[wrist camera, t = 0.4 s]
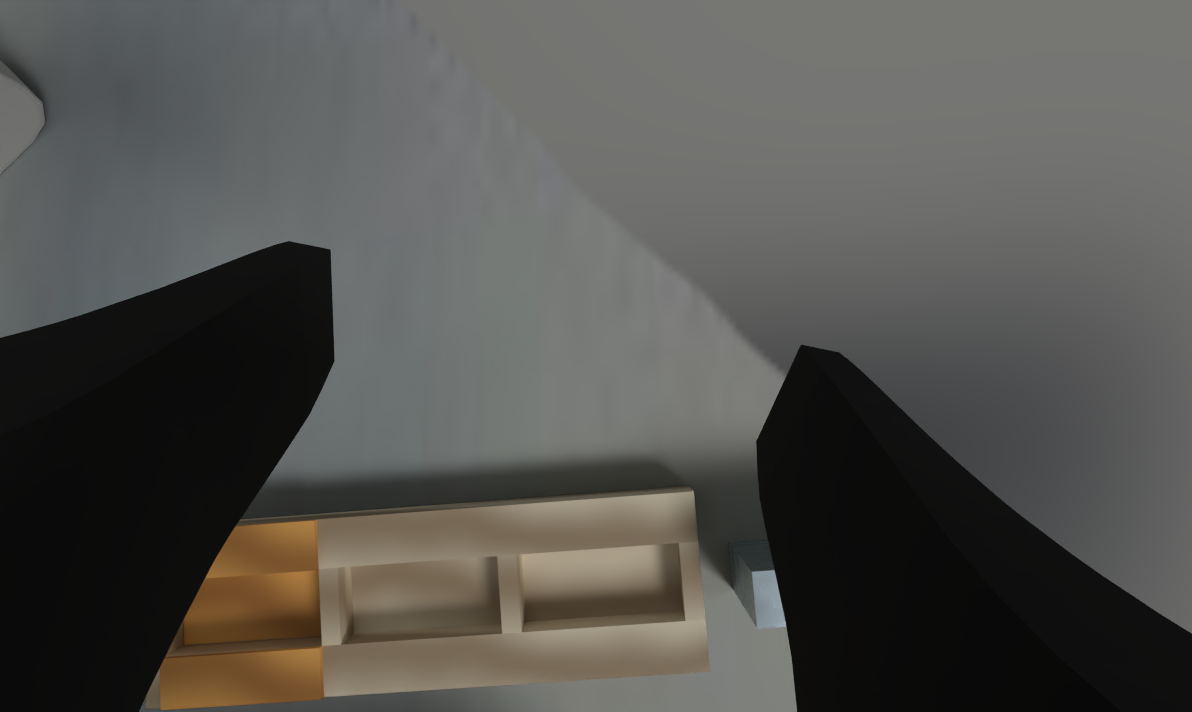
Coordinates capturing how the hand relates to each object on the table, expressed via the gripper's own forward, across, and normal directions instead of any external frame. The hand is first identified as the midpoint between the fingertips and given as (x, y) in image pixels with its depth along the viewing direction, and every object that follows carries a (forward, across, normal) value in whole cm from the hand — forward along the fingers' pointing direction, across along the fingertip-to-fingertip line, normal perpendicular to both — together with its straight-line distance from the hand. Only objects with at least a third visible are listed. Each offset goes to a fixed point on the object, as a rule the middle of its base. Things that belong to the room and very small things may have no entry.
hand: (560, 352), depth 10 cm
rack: (+14, +4, +27) cm, 31 cm away
